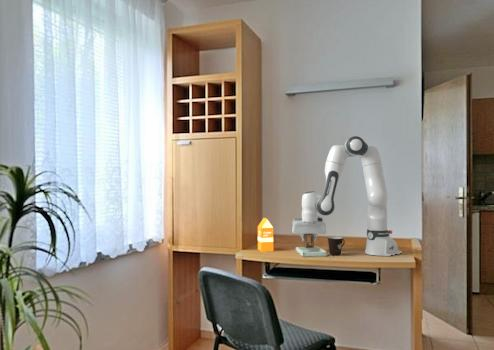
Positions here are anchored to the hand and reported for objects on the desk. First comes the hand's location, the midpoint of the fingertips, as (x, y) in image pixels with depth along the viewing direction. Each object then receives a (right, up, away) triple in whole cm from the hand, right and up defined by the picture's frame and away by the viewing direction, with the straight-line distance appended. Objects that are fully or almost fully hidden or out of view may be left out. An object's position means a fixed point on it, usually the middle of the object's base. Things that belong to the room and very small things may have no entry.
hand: (308, 241), depth 255 cm
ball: (0, -2, 0) cm, 2 cm away
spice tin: (0, -4, 0) cm, 4 cm away
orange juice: (-26, -7, +7) cm, 28 cm away
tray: (+1, -7, -4) cm, 8 cm away
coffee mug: (+16, -7, -8) cm, 19 cm away
